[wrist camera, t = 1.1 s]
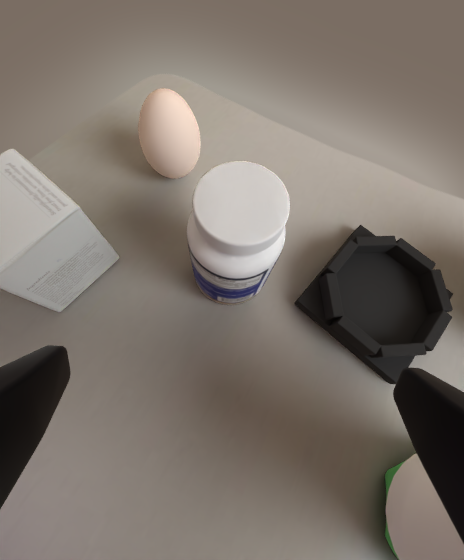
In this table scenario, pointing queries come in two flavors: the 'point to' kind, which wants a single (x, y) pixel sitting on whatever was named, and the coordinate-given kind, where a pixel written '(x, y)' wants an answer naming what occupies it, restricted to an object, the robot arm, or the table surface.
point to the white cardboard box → (45, 238)
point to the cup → (418, 516)
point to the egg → (169, 134)
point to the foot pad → (380, 301)
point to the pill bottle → (236, 230)
